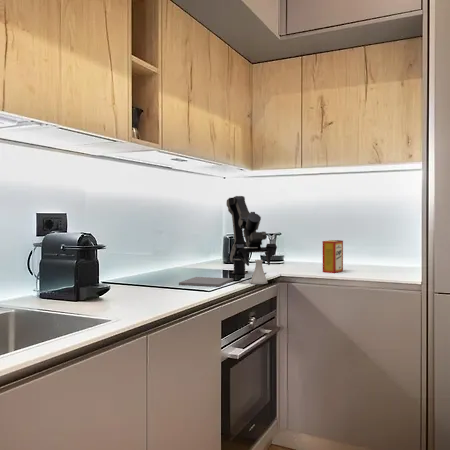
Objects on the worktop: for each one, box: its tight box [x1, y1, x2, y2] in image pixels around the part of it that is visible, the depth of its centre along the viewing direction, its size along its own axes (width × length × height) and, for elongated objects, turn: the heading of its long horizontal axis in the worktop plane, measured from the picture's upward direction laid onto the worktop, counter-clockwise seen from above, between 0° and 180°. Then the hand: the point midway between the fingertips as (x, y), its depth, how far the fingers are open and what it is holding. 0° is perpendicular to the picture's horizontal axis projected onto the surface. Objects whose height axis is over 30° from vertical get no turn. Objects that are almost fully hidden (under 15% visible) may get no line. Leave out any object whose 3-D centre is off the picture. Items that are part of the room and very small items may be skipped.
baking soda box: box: [322, 239, 344, 274], centre depth 236 cm, size 10×6×16 cm
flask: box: [250, 259, 269, 285], centre depth 199 cm, size 7×7×10 cm
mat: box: [178, 276, 234, 288], centre depth 202 cm, size 18×18×1 cm
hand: (259, 265), depth 199 cm, fingers open, 9 cm apart
